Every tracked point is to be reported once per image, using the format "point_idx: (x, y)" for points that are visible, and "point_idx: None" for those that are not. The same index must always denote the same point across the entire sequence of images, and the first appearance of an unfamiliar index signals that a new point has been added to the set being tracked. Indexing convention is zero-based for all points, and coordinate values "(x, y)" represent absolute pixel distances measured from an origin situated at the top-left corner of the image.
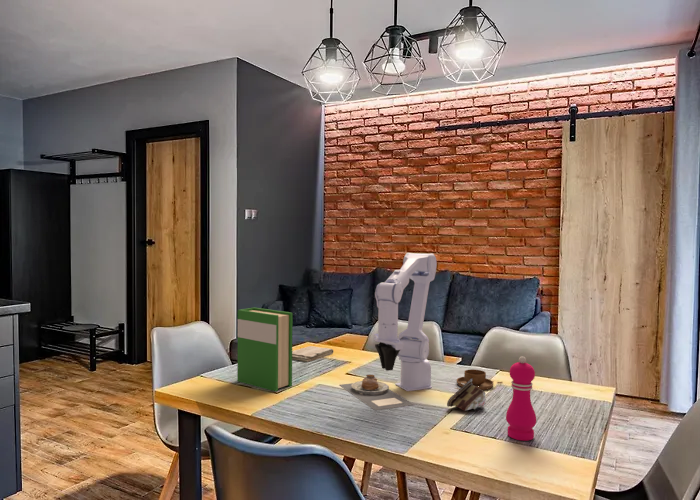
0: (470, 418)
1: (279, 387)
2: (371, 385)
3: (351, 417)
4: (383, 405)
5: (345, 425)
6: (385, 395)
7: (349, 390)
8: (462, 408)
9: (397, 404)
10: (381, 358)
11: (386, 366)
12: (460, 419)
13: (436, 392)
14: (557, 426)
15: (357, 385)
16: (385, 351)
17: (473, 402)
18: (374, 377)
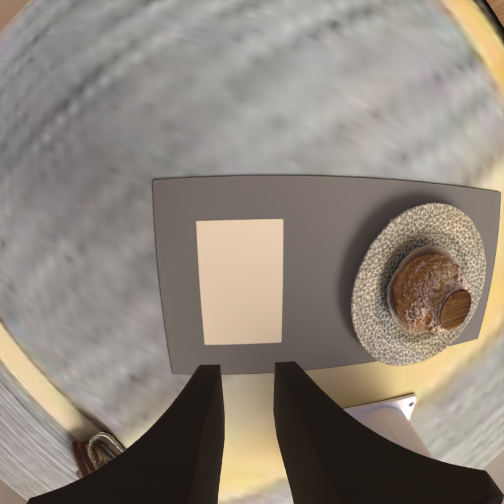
0: (44, 423)
1: (488, 2)
2: (407, 287)
3: (122, 57)
4: (197, 247)
5: (69, 28)
6: (327, 318)
7: (445, 195)
8: (75, 444)
9: (192, 314)
10: (303, 420)
11: (187, 385)
12: (36, 402)
13: (275, 470)
14: (26, 482)
15: (463, 246)
16: (35, 499)
17: (79, 474)
18: (438, 324)
